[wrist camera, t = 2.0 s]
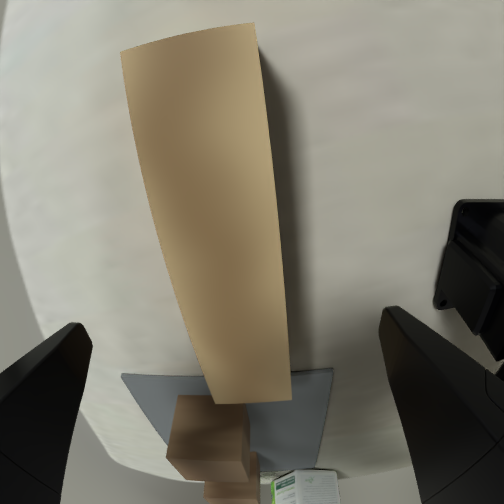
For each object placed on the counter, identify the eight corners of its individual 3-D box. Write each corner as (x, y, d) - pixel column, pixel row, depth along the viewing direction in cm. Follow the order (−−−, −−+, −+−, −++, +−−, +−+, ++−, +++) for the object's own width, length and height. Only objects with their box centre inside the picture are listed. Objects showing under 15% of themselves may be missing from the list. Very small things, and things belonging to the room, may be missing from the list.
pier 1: (243, 394, 18) (241, 461, 14) (250, 425, 21) (249, 482, 16) (177, 394, 19) (165, 457, 14) (193, 425, 21) (185, 479, 17)
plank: (254, 43, 10) (254, 22, 7) (287, 351, 17) (291, 399, 14) (155, 61, 10) (120, 52, 7) (220, 356, 18) (215, 404, 15)
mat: (332, 368, 18) (333, 371, 17) (314, 465, 26) (314, 467, 26) (121, 373, 18) (120, 376, 18) (187, 467, 27) (186, 469, 27)
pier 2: (256, 451, 23) (256, 498, 19) (260, 466, 25) (260, 508, 21) (207, 451, 24) (203, 497, 19) (216, 466, 26) (213, 507, 21)
